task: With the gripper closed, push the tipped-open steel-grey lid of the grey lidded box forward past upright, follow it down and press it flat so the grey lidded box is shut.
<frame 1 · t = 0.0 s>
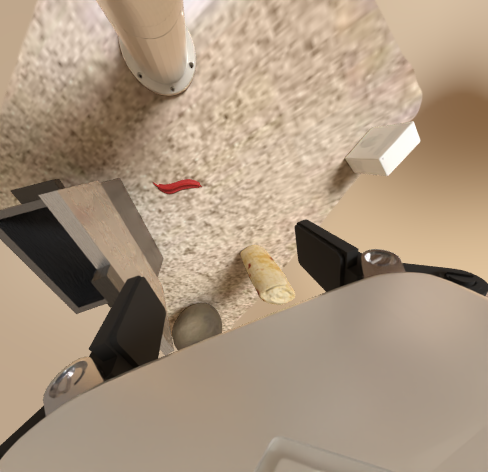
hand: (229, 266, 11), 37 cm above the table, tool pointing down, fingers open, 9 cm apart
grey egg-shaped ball: (198, 308, 59), on the table
grey lidded box: (110, 232, 42), on the table
lid: (129, 265, 25), point 21 cm above the table, hinge at 105.0°
food model: (253, 252, 55), on the table
skincare box: (362, 151, 50), on the table
cayenne pepper: (178, 185, 42), on the table
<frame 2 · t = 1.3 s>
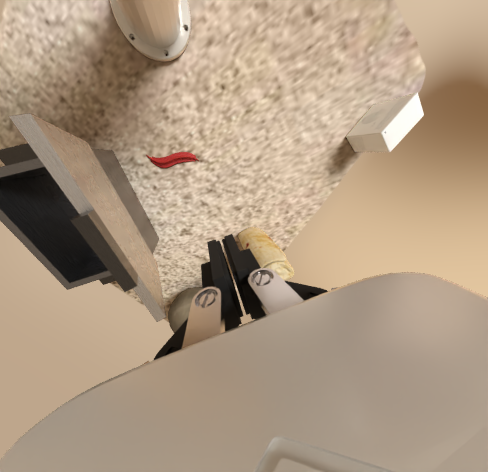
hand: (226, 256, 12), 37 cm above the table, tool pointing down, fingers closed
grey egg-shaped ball: (195, 293, 58), on the table
grey lidded box: (104, 209, 41), on the table
lid: (119, 228, 24), point 21 cm above the table, hinge at 105.0°
food model: (251, 235, 54), on the table
skincare box: (363, 129, 49), on the table
cayenne pepper: (173, 159, 41), on the table
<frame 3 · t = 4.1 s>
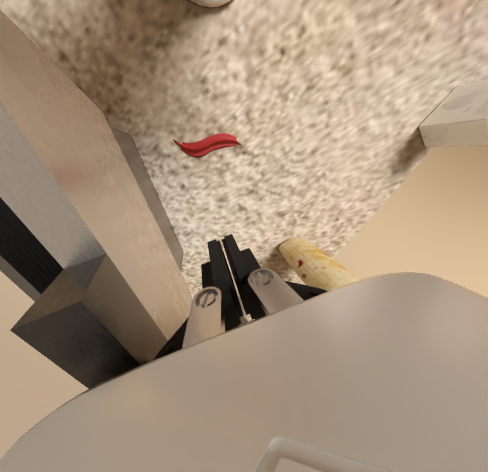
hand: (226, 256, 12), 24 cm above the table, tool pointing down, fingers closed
grey lidded box: (115, 214, 31), on the table
lid: (149, 259, 13), point 21 cm above the table, hinge at 101.3°, touching gripper
food model: (293, 246, 44), on the table
skincare box: (439, 118, 39), on the table
cayenne pepper: (208, 145, 31), on the table
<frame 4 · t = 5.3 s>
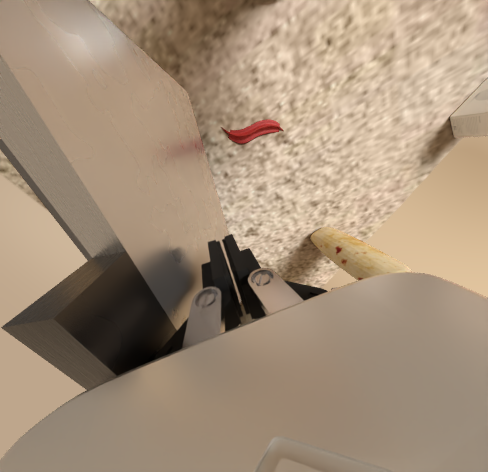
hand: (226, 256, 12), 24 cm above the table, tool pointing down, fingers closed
grey lidded box: (162, 202, 32), on the table
lid: (199, 244, 14), point 22 cm above the table, hinge at 75.9°, touching gripper
food model: (322, 236, 45), on the table
skincare box: (469, 109, 40), on the table
cayenne pepper: (252, 132, 31), on the table
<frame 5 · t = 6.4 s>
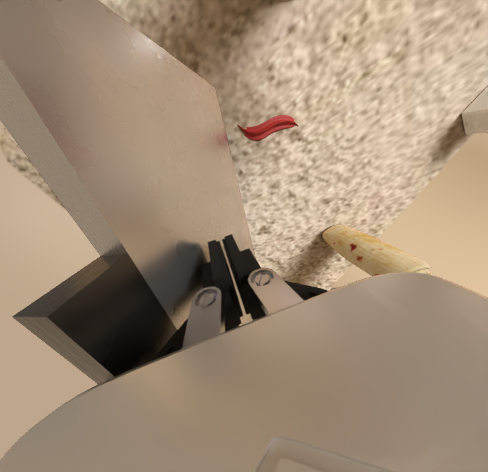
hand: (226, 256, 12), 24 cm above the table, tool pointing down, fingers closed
lid: (214, 242, 14), point 21 cm above the table, hinge at 65.5°, touching gripper
food model: (333, 234, 45), on the table
skincare box: (480, 105, 40), on the table
cayenne pepper: (267, 128, 31), on the table
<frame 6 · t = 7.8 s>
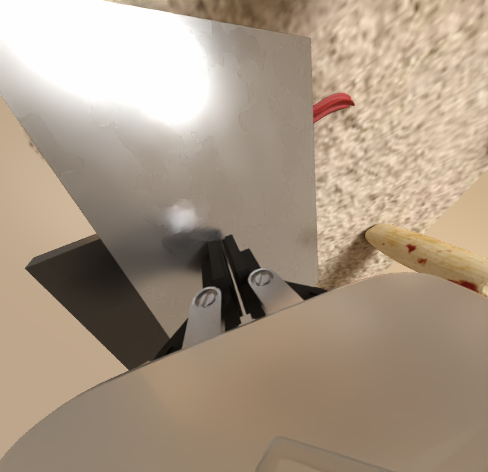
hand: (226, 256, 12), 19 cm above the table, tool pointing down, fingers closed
lid: (239, 238, 13), point 17 cm above the table, hinge at 25.2°, touching gripper
food model: (375, 234, 41), on the table
cayenne pepper: (320, 109, 27), on the table
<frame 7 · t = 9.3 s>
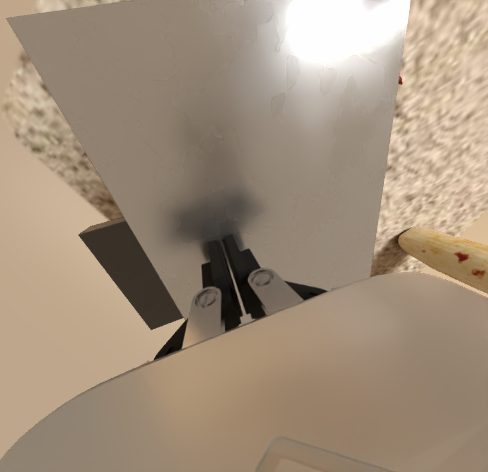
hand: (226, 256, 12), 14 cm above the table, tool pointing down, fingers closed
lid: (261, 238, 13), point 13 cm above the table, hinge at 0.5°, touching gripper
food model: (407, 238, 37), on the table
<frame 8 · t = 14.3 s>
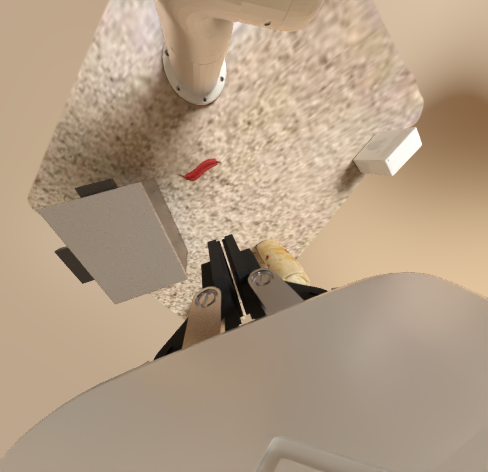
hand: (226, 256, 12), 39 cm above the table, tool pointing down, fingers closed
grey lidded box: (143, 226, 47), on the table
lid: (120, 251, 36), point 13 cm above the table, hinge at 0.0°
food model: (267, 246, 60), on the table
skincare box: (368, 153, 55), on the table
cayenne pepper: (200, 169, 45), on the table
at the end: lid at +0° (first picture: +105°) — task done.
